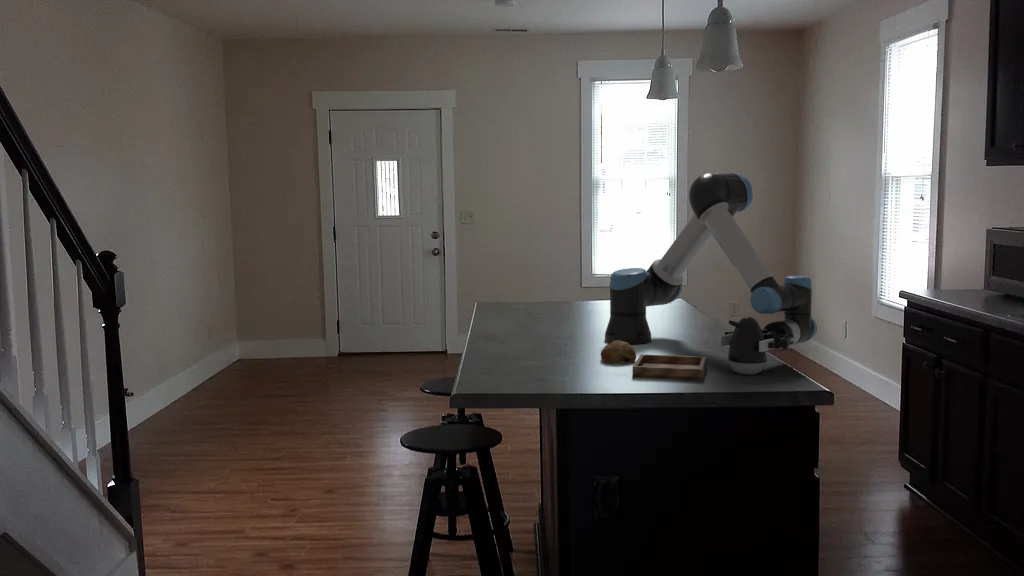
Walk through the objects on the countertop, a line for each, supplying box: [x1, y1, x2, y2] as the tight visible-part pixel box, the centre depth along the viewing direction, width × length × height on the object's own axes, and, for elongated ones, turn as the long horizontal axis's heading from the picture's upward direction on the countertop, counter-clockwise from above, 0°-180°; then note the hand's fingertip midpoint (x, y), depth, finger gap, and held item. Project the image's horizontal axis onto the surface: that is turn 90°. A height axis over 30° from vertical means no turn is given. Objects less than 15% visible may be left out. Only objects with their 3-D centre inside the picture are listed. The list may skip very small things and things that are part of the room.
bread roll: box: [600, 340, 637, 365], centre depth 255 cm, size 10×10×8 cm
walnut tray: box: [632, 353, 707, 382], centre depth 239 cm, size 18×18×3 cm
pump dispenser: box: [727, 316, 768, 376], centre depth 237 cm, size 10×10×15 cm
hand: (739, 344), depth 234 cm, fingers open, 11 cm apart
